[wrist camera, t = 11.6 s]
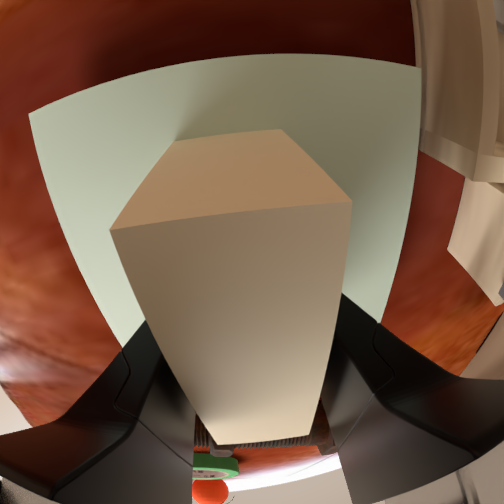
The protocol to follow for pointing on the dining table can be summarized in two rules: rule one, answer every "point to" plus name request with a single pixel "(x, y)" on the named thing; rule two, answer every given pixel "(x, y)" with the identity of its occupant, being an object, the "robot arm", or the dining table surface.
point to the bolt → (317, 436)
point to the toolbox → (467, 123)
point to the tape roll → (213, 467)
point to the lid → (238, 217)
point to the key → (489, 356)
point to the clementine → (210, 491)
